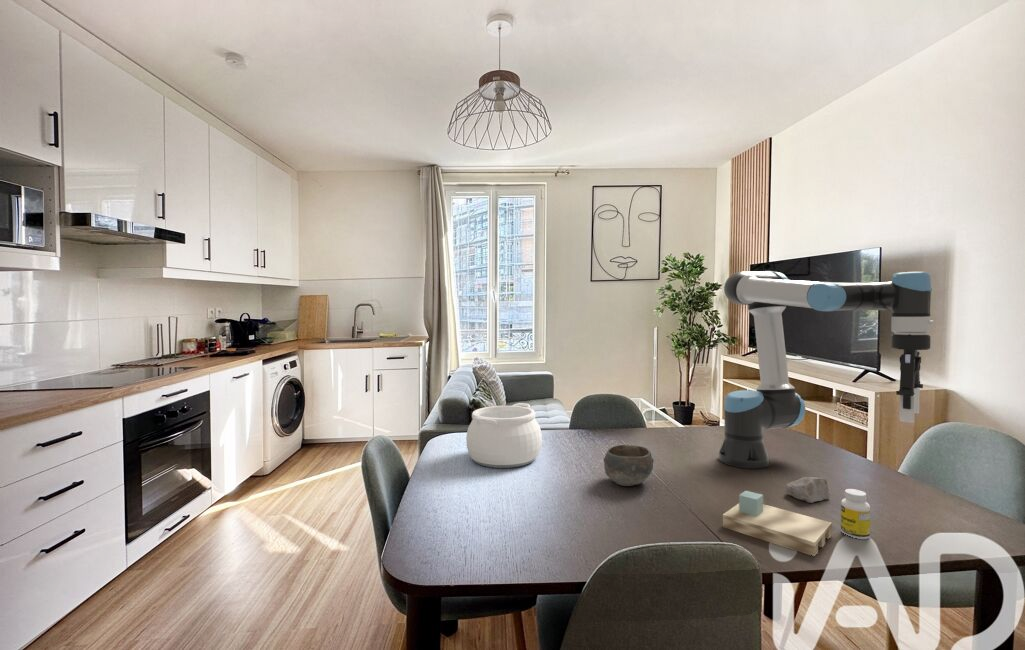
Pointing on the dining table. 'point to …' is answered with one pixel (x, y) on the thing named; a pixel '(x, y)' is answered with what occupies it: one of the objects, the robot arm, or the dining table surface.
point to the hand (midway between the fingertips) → (909, 417)
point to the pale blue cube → (751, 503)
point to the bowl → (628, 464)
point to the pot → (504, 436)
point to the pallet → (781, 528)
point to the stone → (809, 489)
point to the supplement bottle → (855, 514)
